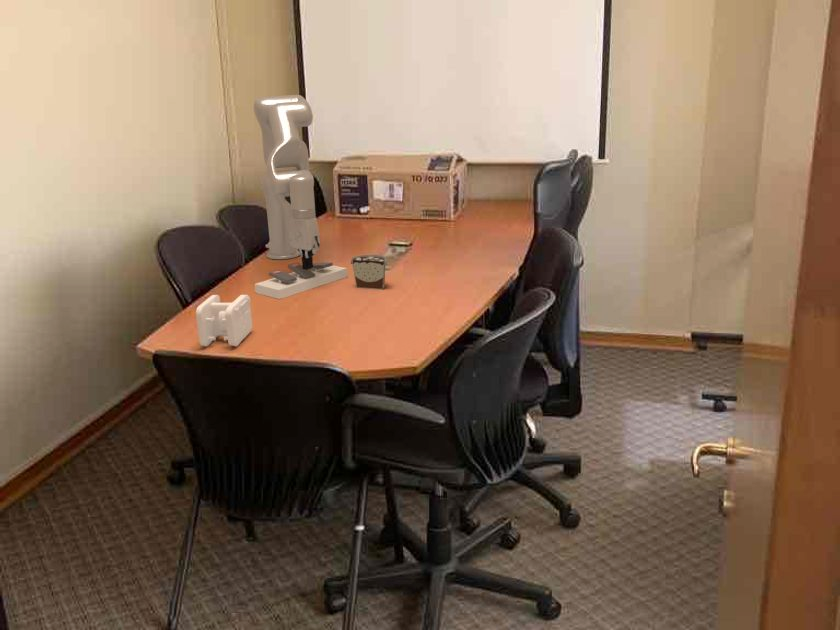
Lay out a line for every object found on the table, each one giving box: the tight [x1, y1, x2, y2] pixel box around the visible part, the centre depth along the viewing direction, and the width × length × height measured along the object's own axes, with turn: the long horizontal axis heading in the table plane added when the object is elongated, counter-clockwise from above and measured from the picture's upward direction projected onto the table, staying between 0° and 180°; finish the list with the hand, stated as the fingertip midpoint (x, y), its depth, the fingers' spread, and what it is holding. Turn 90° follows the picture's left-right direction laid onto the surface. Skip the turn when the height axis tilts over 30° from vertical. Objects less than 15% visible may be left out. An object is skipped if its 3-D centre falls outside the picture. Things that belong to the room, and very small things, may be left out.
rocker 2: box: [287, 261, 315, 279], centre depth 288 cm, size 9×4×1 cm, turn 50°
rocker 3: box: [313, 261, 334, 268], centre depth 294 cm, size 9×4×1 cm, turn 49°
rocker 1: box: [268, 269, 297, 283], centre depth 283 cm, size 9×4×1 cm, turn 49°
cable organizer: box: [195, 294, 253, 348], centre depth 240 cm, size 15×11×12 cm
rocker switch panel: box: [254, 264, 348, 300], centre depth 289 cm, size 12×30×4 cm, turn 139°
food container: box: [350, 253, 388, 291], centre depth 283 cm, size 12×6×10 cm, turn 71°
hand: (307, 268), depth 286 cm, fingers closed
